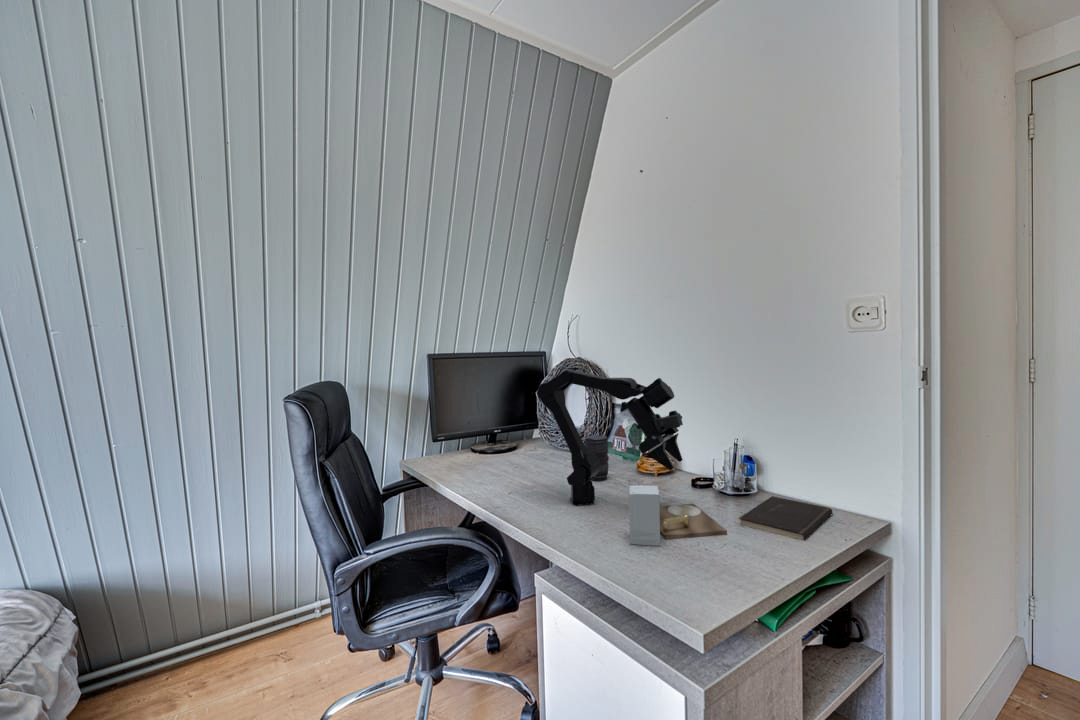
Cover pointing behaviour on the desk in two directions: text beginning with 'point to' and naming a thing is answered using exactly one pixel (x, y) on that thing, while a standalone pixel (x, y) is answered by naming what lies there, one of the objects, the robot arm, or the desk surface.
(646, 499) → the supplement box
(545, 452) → the desk surface
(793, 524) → the hardcover book
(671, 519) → the bent brass wire
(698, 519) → the walnut board
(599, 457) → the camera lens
